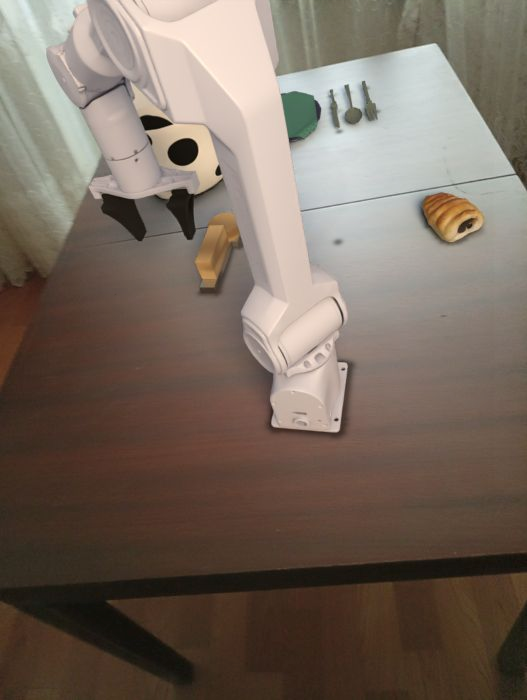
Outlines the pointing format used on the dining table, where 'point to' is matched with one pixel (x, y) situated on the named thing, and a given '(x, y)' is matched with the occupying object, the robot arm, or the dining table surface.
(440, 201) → the pastry
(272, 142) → the robot arm
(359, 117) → the cutlery set
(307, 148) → the dining table surface
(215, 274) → the disc with handle bar
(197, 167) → the milk container
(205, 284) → the grey-brown pronged block
